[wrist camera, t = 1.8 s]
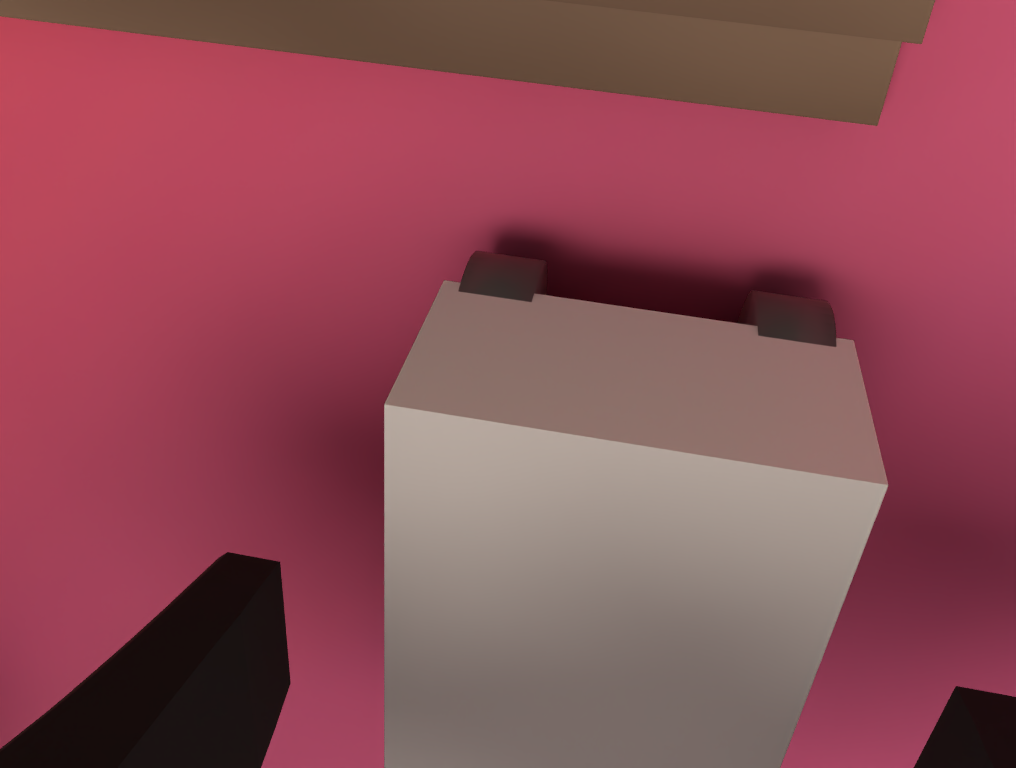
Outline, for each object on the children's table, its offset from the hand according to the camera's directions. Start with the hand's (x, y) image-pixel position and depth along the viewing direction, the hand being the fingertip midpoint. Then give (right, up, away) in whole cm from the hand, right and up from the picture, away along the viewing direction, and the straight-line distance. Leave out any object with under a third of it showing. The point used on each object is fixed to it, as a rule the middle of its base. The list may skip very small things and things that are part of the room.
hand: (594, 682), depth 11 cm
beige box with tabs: (+1, +2, +3) cm, 4 cm away
